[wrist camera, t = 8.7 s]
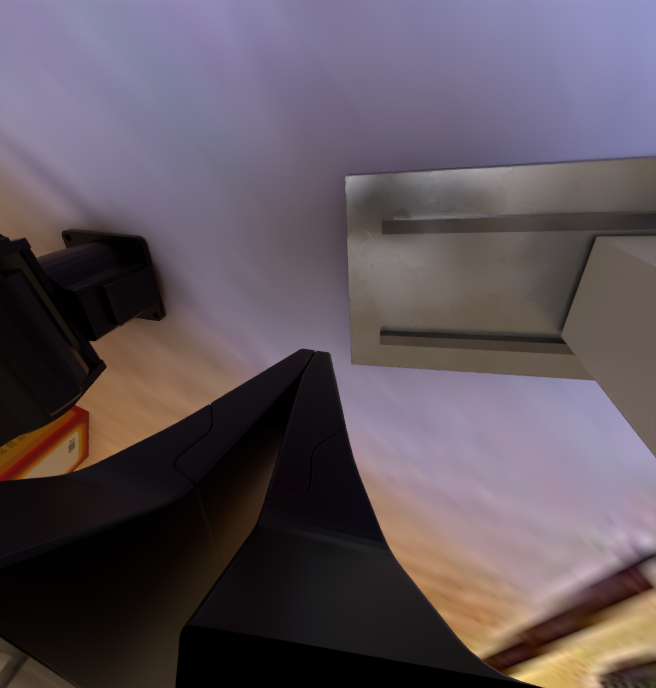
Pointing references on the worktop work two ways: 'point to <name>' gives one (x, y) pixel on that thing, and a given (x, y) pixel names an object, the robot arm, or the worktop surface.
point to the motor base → (483, 260)
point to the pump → (619, 327)
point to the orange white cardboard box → (47, 448)
